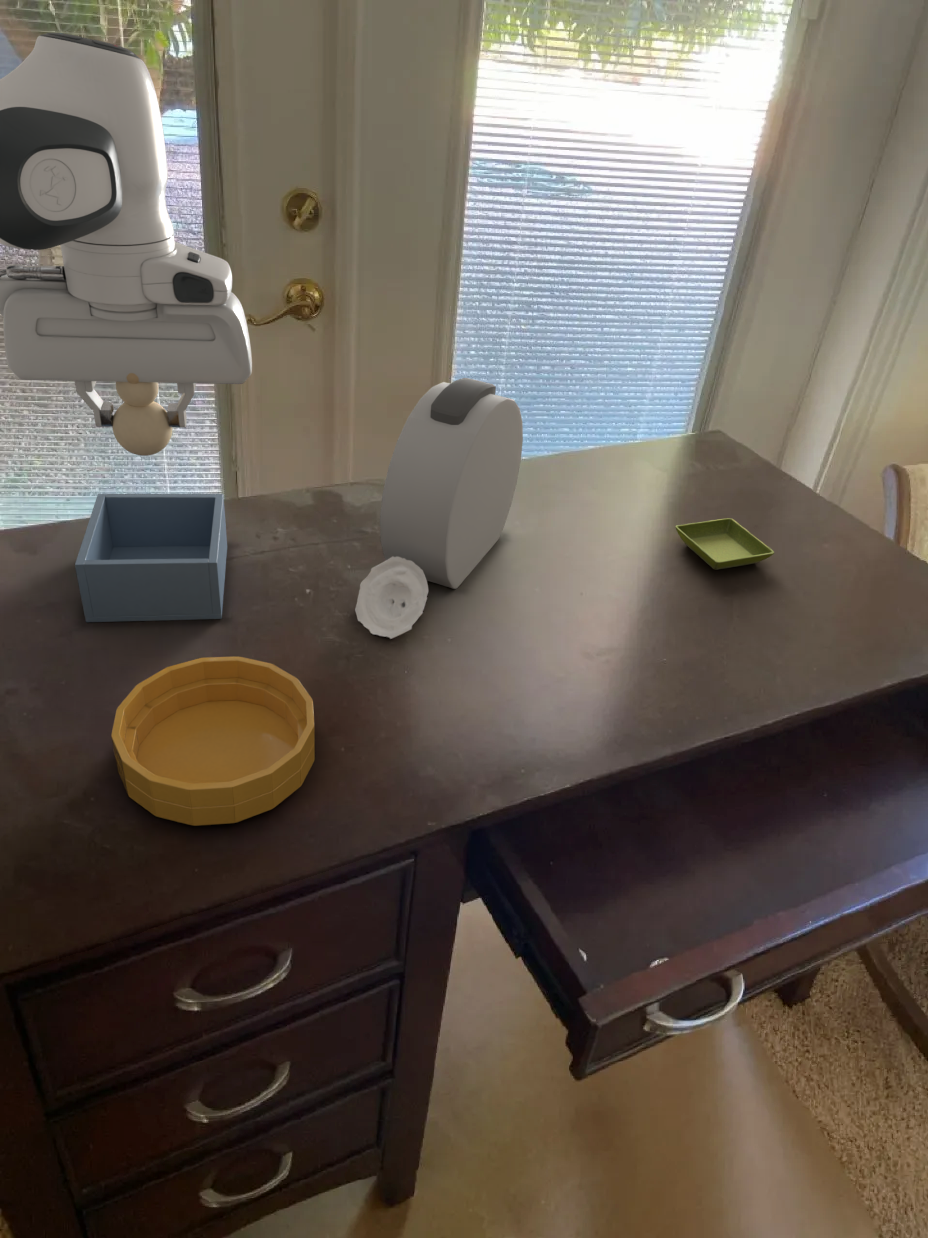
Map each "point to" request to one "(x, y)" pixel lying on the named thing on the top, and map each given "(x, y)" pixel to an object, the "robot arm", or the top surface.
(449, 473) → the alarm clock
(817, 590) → the top surface
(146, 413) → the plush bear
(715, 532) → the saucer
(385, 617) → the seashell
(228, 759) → the bowl
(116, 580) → the bin
